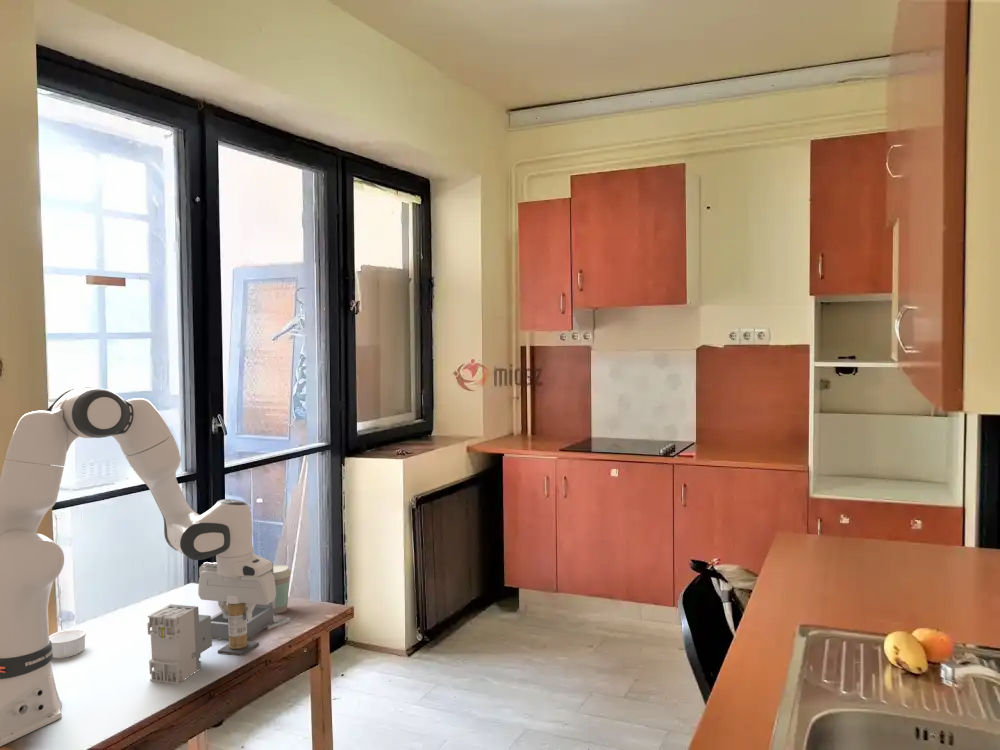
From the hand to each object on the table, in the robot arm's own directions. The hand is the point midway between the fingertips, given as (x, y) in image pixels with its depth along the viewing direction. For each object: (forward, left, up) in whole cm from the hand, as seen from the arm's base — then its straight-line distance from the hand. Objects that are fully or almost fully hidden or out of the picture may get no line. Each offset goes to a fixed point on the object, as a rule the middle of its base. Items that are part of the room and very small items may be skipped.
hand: (237, 618), depth 198 cm
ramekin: (-12, +42, -8) cm, 44 cm away
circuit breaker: (-14, +6, -8) cm, 17 cm away
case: (+11, +8, -8) cm, 16 cm away
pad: (0, 0, -8) cm, 8 cm away
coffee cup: (+26, +6, -8) cm, 28 cm away
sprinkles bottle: (0, 0, -7) cm, 7 cm away
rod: (+16, -1, -8) cm, 18 cm away
